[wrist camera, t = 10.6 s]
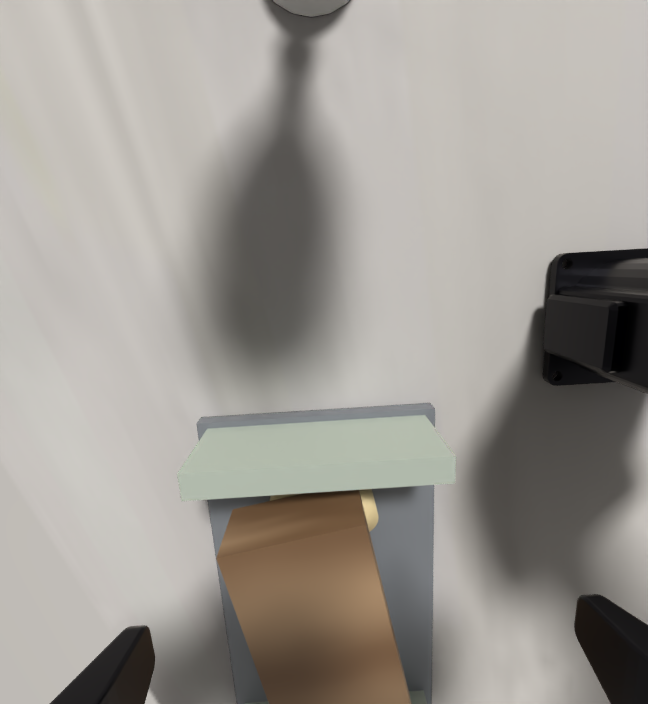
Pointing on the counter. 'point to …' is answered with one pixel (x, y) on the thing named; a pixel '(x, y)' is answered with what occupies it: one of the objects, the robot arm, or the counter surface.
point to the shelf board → (312, 601)
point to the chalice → (311, 6)
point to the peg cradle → (325, 476)
